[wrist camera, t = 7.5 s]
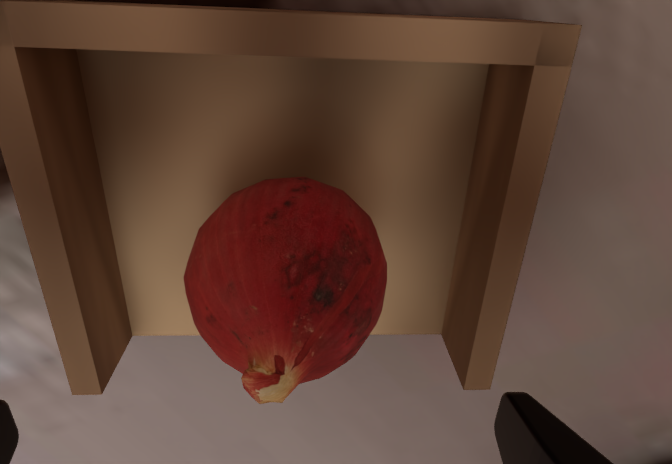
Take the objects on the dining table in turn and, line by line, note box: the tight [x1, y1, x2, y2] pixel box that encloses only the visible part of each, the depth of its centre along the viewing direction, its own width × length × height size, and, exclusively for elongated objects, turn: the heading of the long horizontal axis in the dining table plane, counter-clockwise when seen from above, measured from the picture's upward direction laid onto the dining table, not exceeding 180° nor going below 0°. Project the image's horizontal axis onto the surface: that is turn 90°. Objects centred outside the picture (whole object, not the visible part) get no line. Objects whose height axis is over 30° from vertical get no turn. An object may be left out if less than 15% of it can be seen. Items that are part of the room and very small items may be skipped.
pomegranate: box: [183, 177, 387, 404], centre depth 14 cm, size 6×6×8 cm
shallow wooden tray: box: [0, 0, 582, 395], centre depth 16 cm, size 15×12×4 cm
